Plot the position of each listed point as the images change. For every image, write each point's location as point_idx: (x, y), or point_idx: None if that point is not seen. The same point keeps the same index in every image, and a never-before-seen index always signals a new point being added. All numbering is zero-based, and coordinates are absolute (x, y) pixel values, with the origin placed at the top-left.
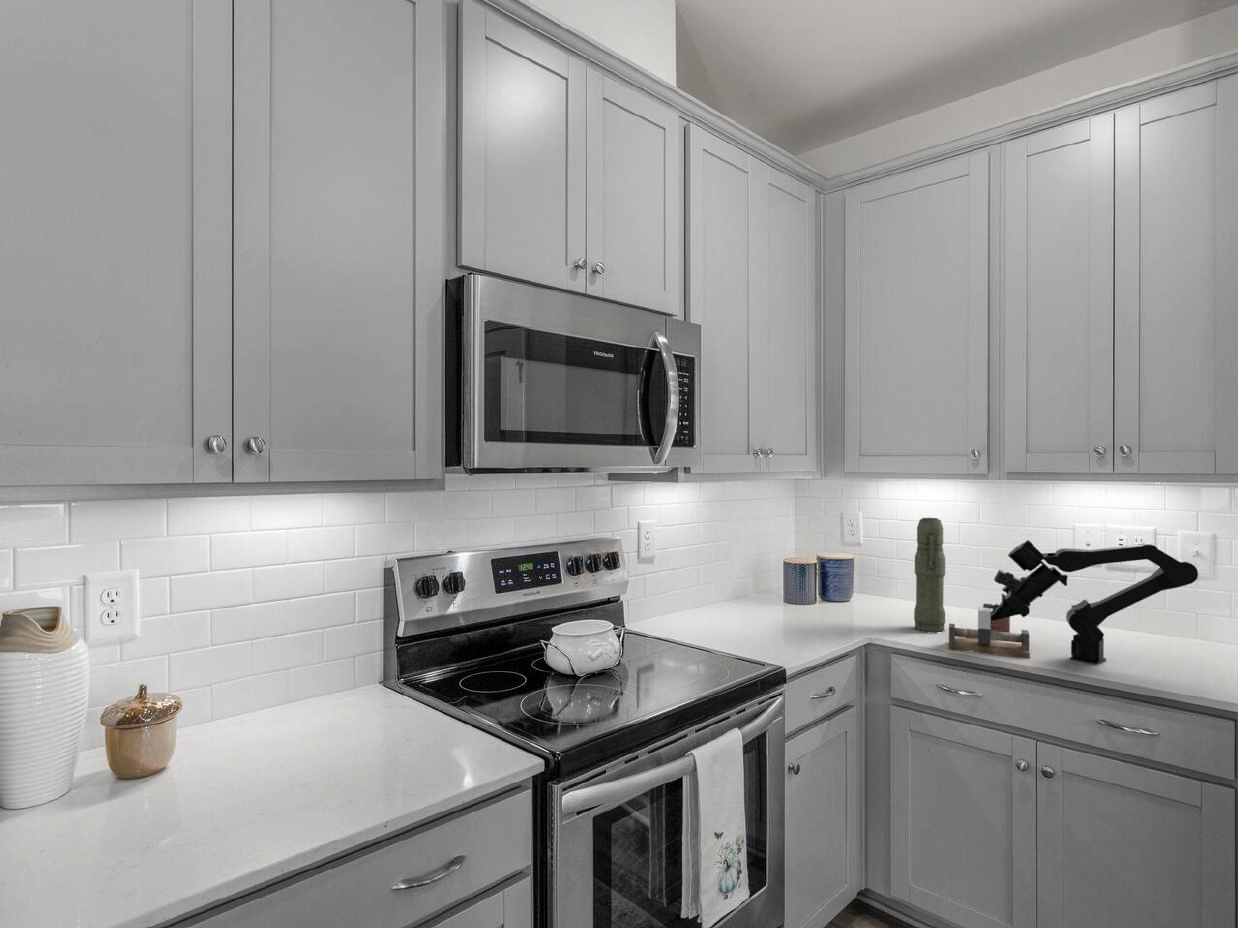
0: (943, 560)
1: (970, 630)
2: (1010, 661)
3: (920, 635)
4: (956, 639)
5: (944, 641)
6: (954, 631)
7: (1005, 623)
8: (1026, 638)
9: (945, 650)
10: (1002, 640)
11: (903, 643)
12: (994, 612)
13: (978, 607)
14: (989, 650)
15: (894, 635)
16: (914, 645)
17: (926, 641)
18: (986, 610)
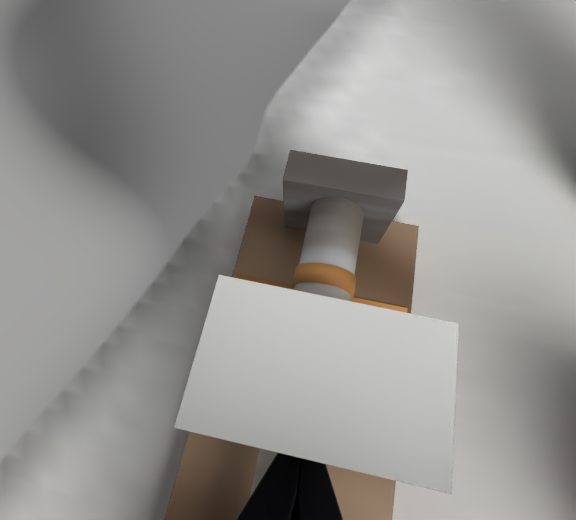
0: None
1: (307, 285)
2: (61, 471)
3: (503, 141)
4: (378, 252)
5: (421, 220)
6: (284, 192)
7: None
8: None
9: (244, 194)
10: None
11: (326, 66)
12: (280, 513)
13: (435, 322)
14: None
15: (456, 53)
16: (304, 96)
17: (392, 147)
18: (242, 384)
